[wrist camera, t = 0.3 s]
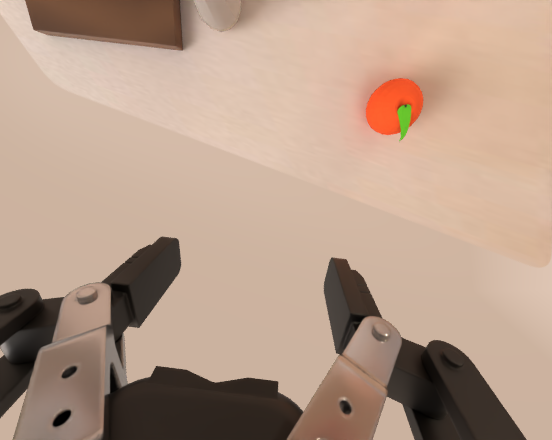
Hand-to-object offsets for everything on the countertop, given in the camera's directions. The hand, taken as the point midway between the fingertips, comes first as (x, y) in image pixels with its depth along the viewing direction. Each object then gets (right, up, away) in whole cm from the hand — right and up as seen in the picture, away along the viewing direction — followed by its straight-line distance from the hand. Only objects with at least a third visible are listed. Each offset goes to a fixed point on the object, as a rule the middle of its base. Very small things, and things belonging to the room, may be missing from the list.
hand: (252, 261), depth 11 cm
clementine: (+18, +19, +22) cm, 34 cm away
